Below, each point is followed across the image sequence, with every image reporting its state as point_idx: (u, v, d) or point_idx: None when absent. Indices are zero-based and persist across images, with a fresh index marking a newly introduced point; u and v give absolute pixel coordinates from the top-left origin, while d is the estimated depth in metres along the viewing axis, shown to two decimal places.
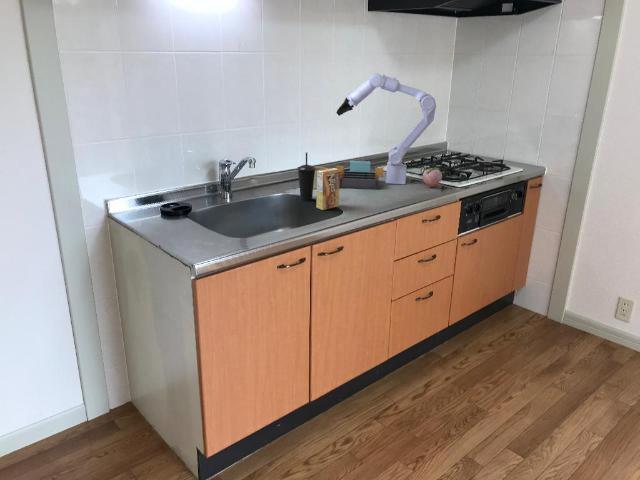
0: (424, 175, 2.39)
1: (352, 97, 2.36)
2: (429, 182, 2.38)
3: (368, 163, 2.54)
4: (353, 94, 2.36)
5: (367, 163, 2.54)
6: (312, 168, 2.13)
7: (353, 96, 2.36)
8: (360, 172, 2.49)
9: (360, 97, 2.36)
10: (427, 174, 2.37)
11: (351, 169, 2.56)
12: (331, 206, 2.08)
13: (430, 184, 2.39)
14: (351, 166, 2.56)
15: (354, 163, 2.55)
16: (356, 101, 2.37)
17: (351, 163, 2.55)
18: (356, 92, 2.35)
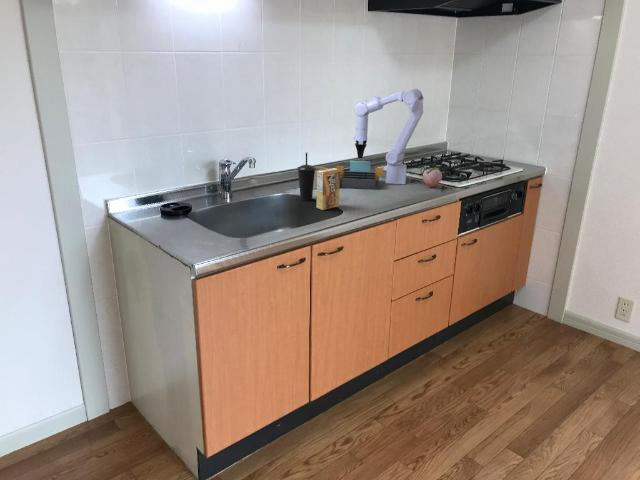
0: (424, 175, 2.39)
1: (358, 137, 2.49)
2: (429, 182, 2.38)
3: (368, 163, 2.54)
4: (357, 134, 2.49)
5: (367, 163, 2.54)
6: (312, 168, 2.13)
7: (358, 135, 2.49)
8: (360, 172, 2.49)
9: (363, 131, 2.48)
10: (427, 174, 2.37)
11: (351, 169, 2.56)
12: (331, 206, 2.08)
13: (430, 184, 2.39)
14: (351, 166, 2.56)
15: (354, 163, 2.55)
16: (363, 136, 2.49)
17: (351, 163, 2.55)
18: (357, 131, 2.48)
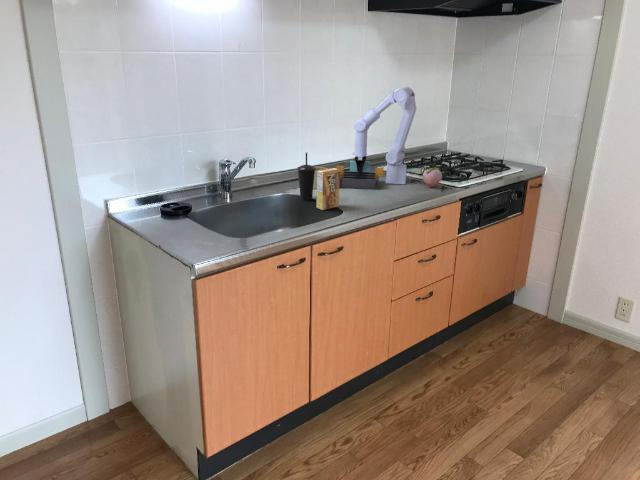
0: (424, 175, 2.39)
1: (358, 152, 2.52)
2: (429, 182, 2.38)
3: (368, 163, 2.54)
4: (356, 150, 2.52)
5: (367, 163, 2.54)
6: (312, 168, 2.13)
7: (358, 151, 2.51)
8: (360, 172, 2.49)
9: (363, 147, 2.50)
10: (427, 174, 2.37)
11: (351, 169, 2.56)
12: (331, 206, 2.08)
13: (430, 184, 2.39)
14: (351, 166, 2.55)
15: (354, 163, 2.55)
16: (363, 152, 2.51)
17: (351, 163, 2.55)
18: (357, 147, 2.51)
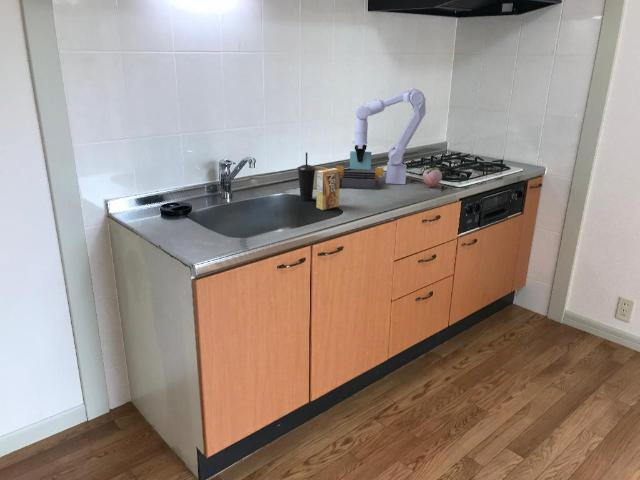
0: (424, 175, 2.39)
1: (358, 141, 2.42)
2: (429, 182, 2.38)
3: (369, 153, 2.45)
4: (356, 138, 2.42)
5: (368, 153, 2.45)
6: (312, 168, 2.13)
7: (358, 139, 2.42)
8: (360, 172, 2.49)
9: (363, 135, 2.40)
10: (427, 174, 2.37)
11: (351, 159, 2.47)
12: (331, 206, 2.08)
13: (430, 184, 2.39)
14: (351, 156, 2.46)
15: (354, 153, 2.45)
16: (363, 140, 2.41)
17: (351, 153, 2.45)
18: (357, 135, 2.41)
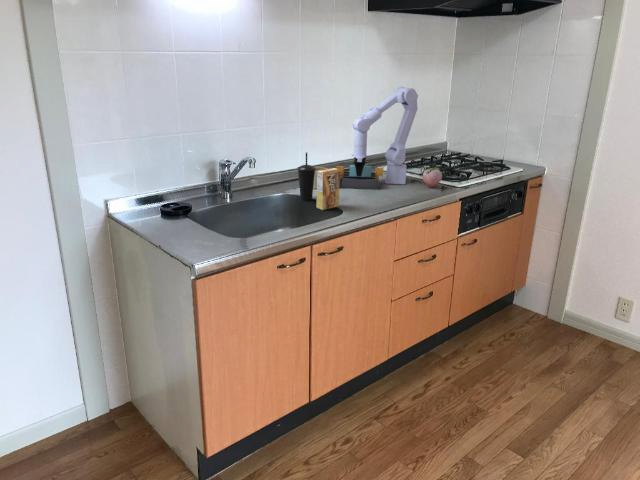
0: (424, 175, 2.39)
1: (357, 154, 2.37)
2: (429, 182, 2.38)
3: (369, 167, 2.40)
4: (355, 151, 2.37)
5: (368, 167, 2.40)
6: (312, 168, 2.13)
7: (357, 152, 2.37)
8: None
9: (362, 148, 2.36)
10: (427, 174, 2.37)
11: (351, 174, 2.42)
12: (331, 206, 2.08)
13: (430, 184, 2.39)
14: (351, 171, 2.41)
15: (354, 167, 2.41)
16: (362, 153, 2.37)
17: (351, 167, 2.41)
18: (356, 148, 2.36)
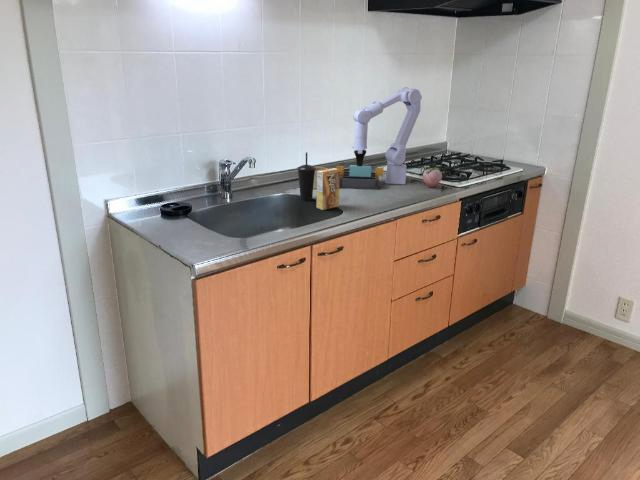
0: (424, 175, 2.39)
1: (357, 146, 2.36)
2: (429, 182, 2.38)
3: (369, 167, 2.40)
4: (356, 143, 2.36)
5: (368, 167, 2.40)
6: (312, 168, 2.13)
7: (357, 144, 2.36)
8: None
9: (363, 140, 2.34)
10: (427, 174, 2.37)
11: (351, 174, 2.42)
12: (331, 206, 2.08)
13: (430, 184, 2.39)
14: (351, 171, 2.41)
15: (354, 167, 2.41)
16: (363, 145, 2.35)
17: (351, 167, 2.41)
18: (356, 139, 2.35)
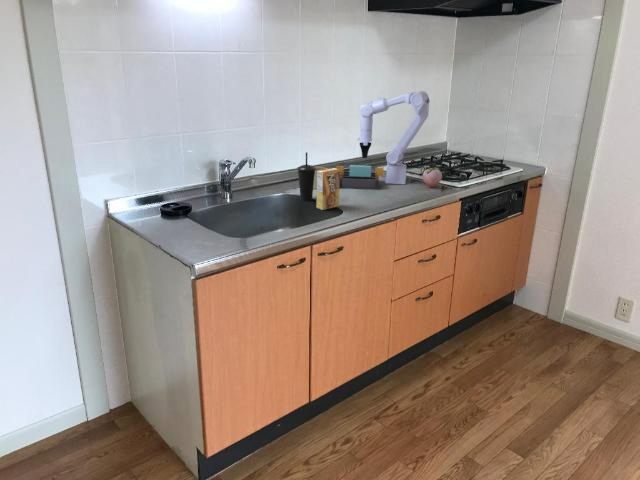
0: (424, 175, 2.39)
1: (363, 138, 2.46)
2: (429, 182, 2.38)
3: (369, 167, 2.40)
4: (361, 135, 2.47)
5: (368, 167, 2.40)
6: (312, 168, 2.13)
7: (363, 136, 2.46)
8: None
9: (368, 132, 2.45)
10: (427, 174, 2.37)
11: (351, 174, 2.42)
12: (331, 206, 2.08)
13: (430, 184, 2.39)
14: (351, 171, 2.41)
15: (354, 167, 2.41)
16: (368, 137, 2.46)
17: (351, 167, 2.41)
18: (362, 132, 2.46)
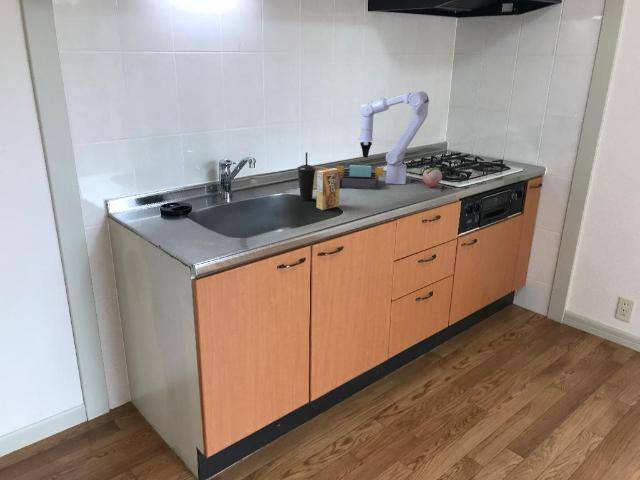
0: (424, 175, 2.39)
1: (363, 137, 2.48)
2: (429, 182, 2.38)
3: (369, 167, 2.40)
4: (362, 135, 2.48)
5: (368, 167, 2.40)
6: (312, 168, 2.13)
7: (363, 136, 2.48)
8: None
9: (368, 132, 2.47)
10: (427, 174, 2.37)
11: (351, 174, 2.42)
12: (331, 206, 2.08)
13: (430, 184, 2.39)
14: (351, 171, 2.41)
15: (354, 167, 2.41)
16: (369, 137, 2.48)
17: (351, 167, 2.41)
18: (362, 131, 2.47)
